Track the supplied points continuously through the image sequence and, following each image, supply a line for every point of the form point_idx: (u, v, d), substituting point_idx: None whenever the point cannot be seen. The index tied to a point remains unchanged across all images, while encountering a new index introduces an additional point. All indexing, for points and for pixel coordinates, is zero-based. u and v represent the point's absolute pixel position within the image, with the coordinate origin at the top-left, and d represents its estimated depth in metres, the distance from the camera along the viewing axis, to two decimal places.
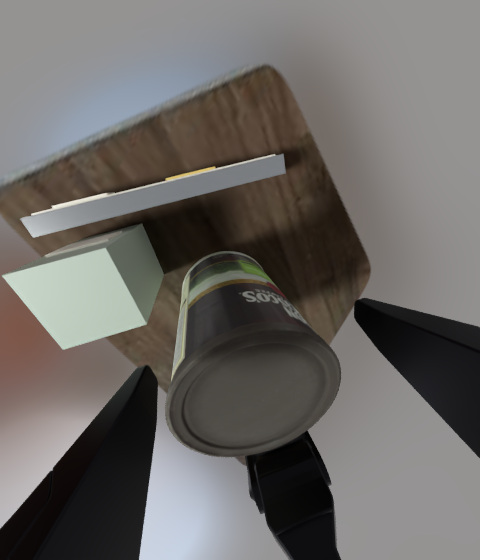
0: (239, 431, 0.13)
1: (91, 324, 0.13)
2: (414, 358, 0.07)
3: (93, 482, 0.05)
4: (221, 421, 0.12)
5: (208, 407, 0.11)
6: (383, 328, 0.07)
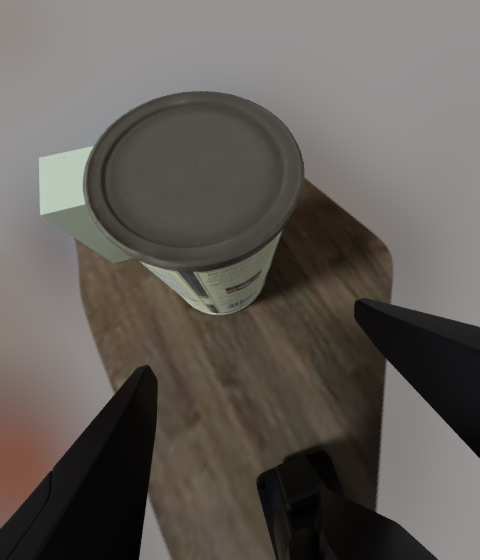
0: (167, 210, 0.09)
1: (74, 193, 0.15)
2: (414, 358, 0.07)
3: (93, 482, 0.05)
4: (145, 187, 0.09)
5: (133, 165, 0.10)
6: (383, 328, 0.07)
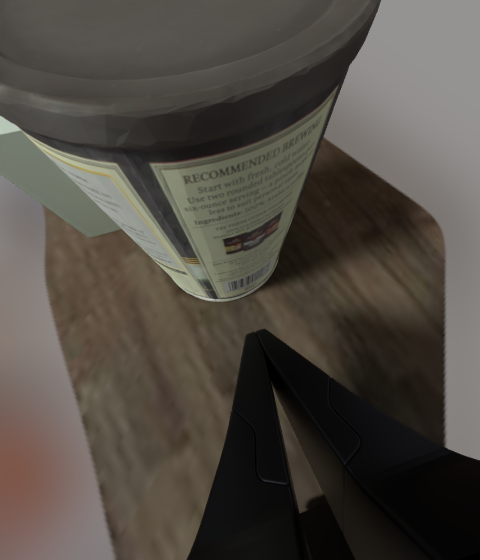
0: (95, 27, 0.04)
1: None
2: (286, 401, 0.06)
3: (278, 419, 0.05)
4: None
5: None
6: (268, 365, 0.07)
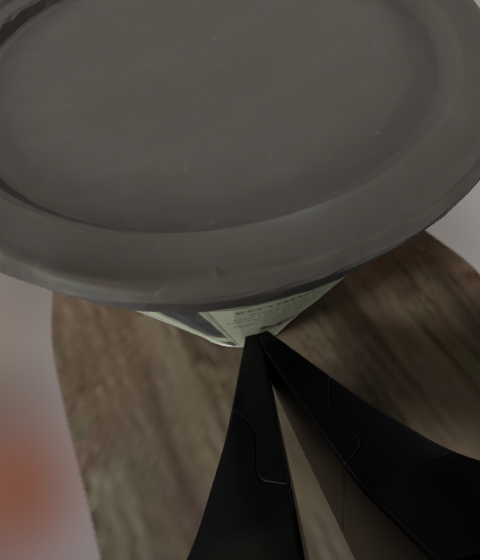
0: (123, 131, 0.03)
1: None
2: (285, 401, 0.06)
3: (278, 419, 0.05)
4: (73, 83, 0.04)
5: (56, 46, 0.04)
6: (268, 365, 0.07)
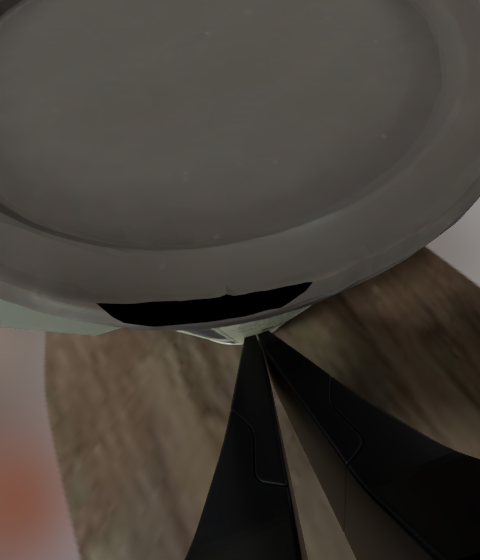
0: (117, 138, 0.03)
1: None
2: (286, 401, 0.06)
3: (276, 419, 0.05)
4: (59, 85, 0.03)
5: (37, 43, 0.04)
6: (269, 365, 0.07)
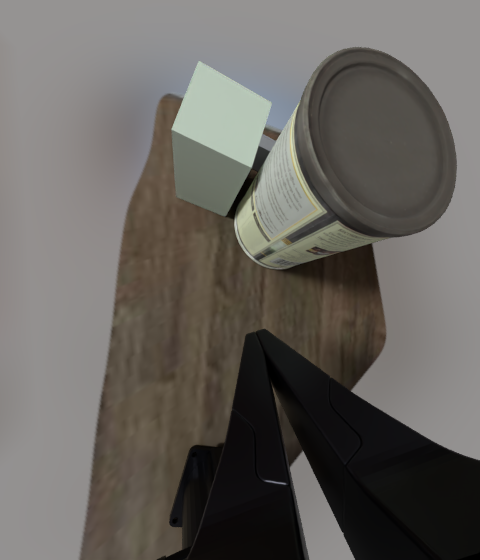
0: (356, 161, 0.10)
1: (214, 132, 0.14)
2: (285, 401, 0.06)
3: (278, 419, 0.05)
4: (349, 128, 0.10)
5: (348, 101, 0.10)
6: (268, 365, 0.07)
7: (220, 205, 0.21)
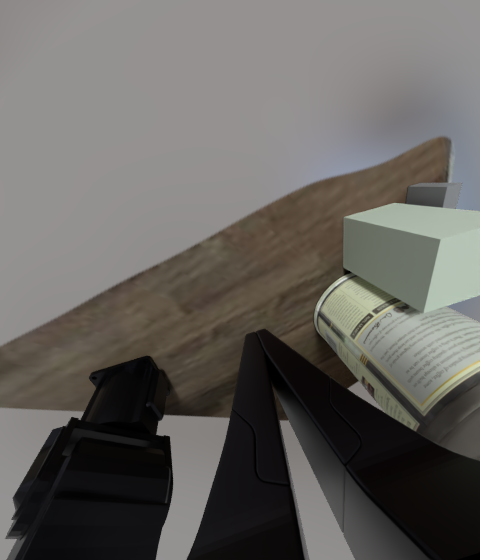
0: (478, 422, 0.12)
1: (448, 270, 0.13)
2: (285, 401, 0.06)
3: (278, 419, 0.05)
4: None
5: None
6: (268, 365, 0.07)
7: (356, 266, 0.20)
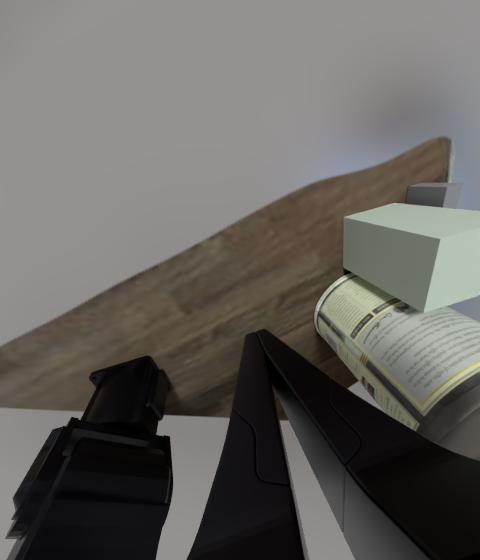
0: (478, 422, 0.12)
1: (448, 270, 0.13)
2: (285, 401, 0.06)
3: (278, 419, 0.05)
4: None
5: None
6: (268, 365, 0.07)
7: (356, 266, 0.20)
